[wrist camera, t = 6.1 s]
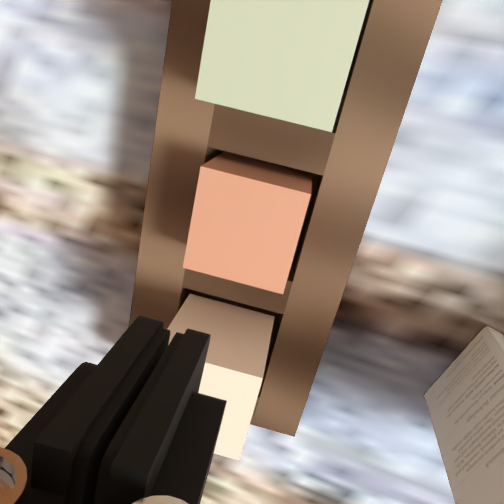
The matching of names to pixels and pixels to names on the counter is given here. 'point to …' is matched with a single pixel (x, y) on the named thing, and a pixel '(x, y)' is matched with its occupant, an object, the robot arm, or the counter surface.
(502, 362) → the skincare box
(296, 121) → the sage key
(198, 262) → the terracotta key
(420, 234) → the counter surface
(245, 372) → the cream key
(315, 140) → the brown slotted tray
